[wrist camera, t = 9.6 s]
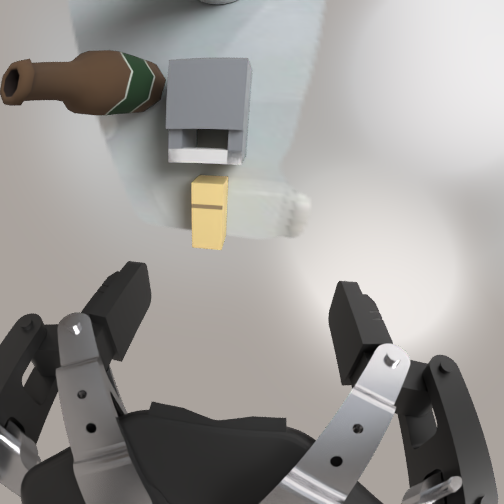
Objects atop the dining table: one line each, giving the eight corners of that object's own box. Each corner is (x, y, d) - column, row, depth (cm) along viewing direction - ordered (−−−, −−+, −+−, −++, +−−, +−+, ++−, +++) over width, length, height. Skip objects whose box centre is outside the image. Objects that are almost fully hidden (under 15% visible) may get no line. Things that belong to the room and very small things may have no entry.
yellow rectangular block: (199, 175, 37) (191, 183, 33) (228, 176, 37) (223, 184, 33) (199, 233, 41) (192, 247, 37) (225, 236, 41) (221, 250, 37)
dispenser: (188, 69, 30) (169, 60, 23) (252, 70, 30) (248, 58, 23) (185, 153, 36) (165, 163, 29) (245, 155, 35) (240, 166, 28)
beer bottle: (122, 118, 33) (-11, 149, 12) (116, 71, 29) (-16, 63, 8) (170, 105, 32) (47, 112, 11) (164, 55, 29) (45, 12, 8)
